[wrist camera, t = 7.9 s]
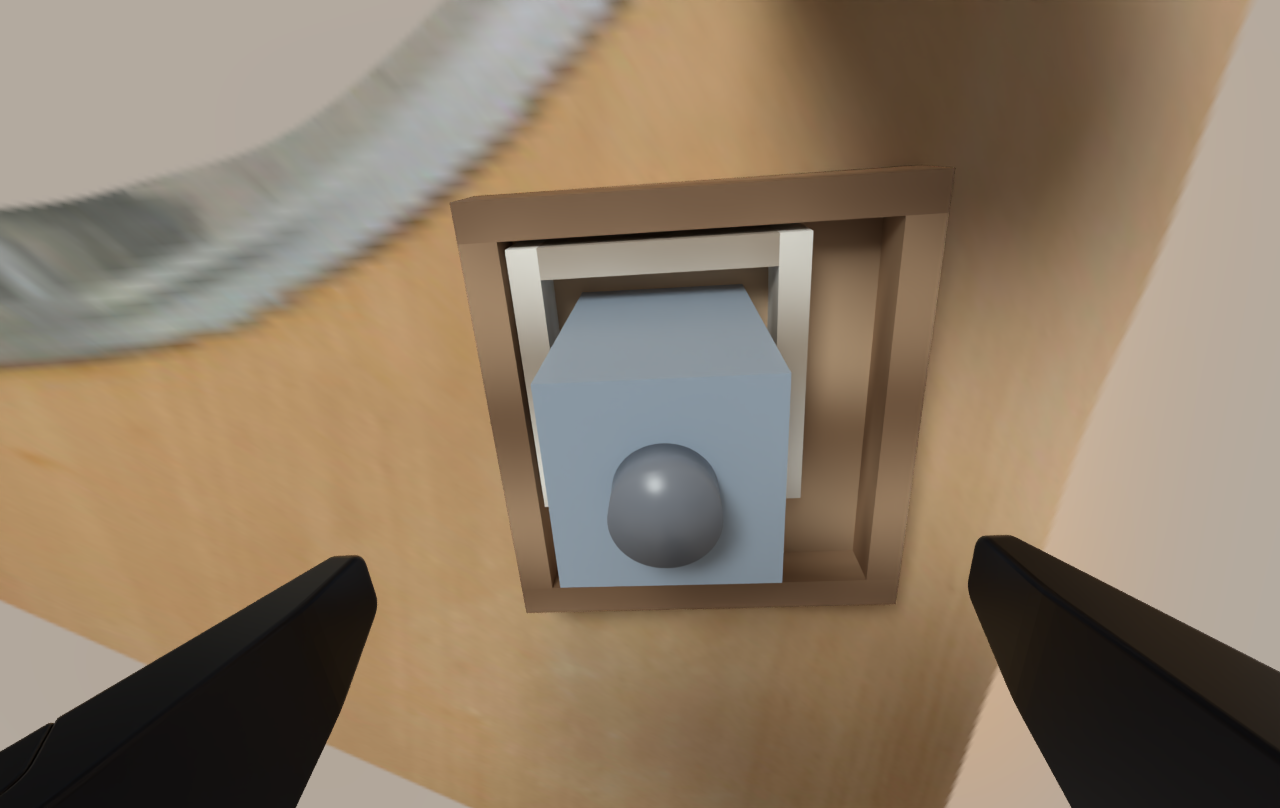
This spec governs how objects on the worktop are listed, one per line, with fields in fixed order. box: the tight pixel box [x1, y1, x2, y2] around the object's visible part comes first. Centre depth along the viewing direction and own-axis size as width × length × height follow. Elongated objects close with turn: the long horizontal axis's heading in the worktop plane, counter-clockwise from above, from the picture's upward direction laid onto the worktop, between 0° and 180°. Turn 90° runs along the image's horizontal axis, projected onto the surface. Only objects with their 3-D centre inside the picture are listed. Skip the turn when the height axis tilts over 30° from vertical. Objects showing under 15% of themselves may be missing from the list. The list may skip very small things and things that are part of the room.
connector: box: [531, 284, 791, 588], centre depth 14 cm, size 4×4×8 cm
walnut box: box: [450, 165, 955, 613], centre depth 17 cm, size 13×12×2 cm
